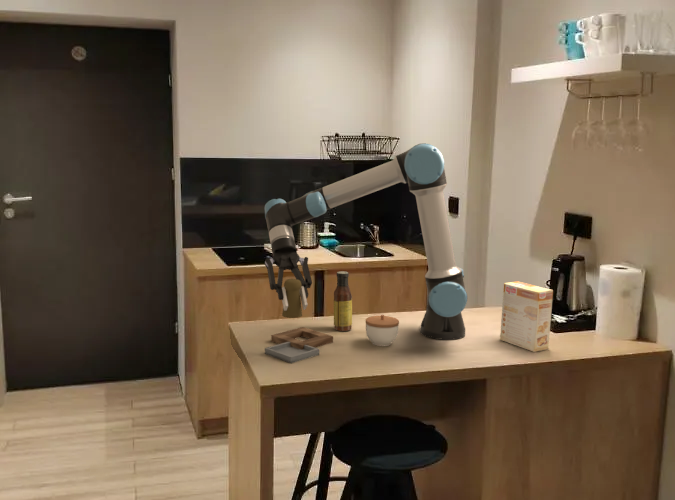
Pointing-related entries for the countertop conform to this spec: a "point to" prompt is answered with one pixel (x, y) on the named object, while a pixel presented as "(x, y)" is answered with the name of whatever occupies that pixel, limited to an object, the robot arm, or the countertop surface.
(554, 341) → the countertop surface
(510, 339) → the coffeecake box
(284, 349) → the tray
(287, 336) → the socket block
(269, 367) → the countertop surface
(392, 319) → the lidded jar
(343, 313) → the sauce bottle
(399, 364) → the countertop surface
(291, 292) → the olive brown bulbous peg
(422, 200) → the robot arm
